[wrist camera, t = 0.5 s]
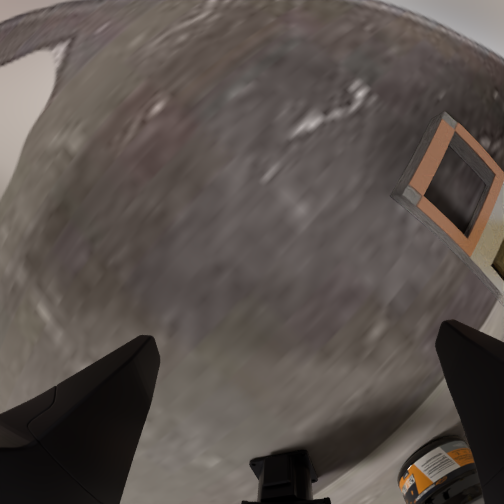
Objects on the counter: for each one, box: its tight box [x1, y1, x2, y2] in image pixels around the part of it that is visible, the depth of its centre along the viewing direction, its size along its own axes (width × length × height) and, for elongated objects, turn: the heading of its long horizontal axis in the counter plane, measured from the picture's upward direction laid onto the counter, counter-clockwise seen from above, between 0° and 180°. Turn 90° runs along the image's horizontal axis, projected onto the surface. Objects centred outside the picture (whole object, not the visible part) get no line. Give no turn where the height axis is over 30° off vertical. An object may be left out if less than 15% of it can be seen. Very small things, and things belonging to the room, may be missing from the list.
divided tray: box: [390, 112, 504, 306], centre depth 20 cm, size 20×9×3 cm, turn 57°
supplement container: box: [397, 436, 484, 504], centre depth 19 cm, size 10×10×12 cm
